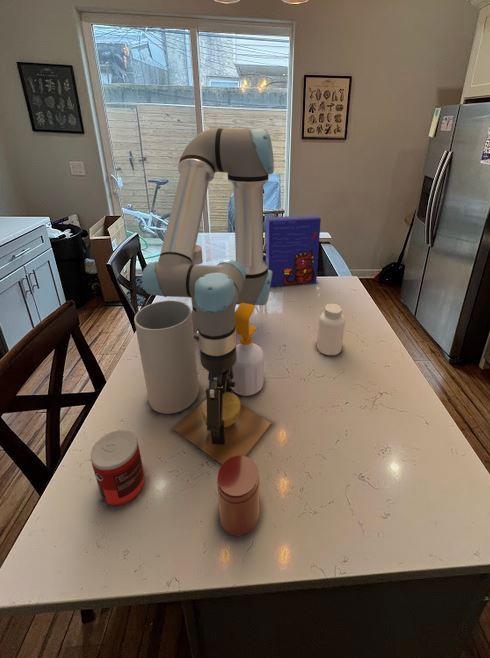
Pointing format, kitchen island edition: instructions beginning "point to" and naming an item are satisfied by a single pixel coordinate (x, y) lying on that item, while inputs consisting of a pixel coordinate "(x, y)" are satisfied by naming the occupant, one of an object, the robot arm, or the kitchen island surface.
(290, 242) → the cereal box
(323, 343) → the pill bottle
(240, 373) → the spray bottle
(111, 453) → the canned food
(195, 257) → the pillar candle
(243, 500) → the jam jar
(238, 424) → the wooden board
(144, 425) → the kitchen island surface
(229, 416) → the jar lid
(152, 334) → the cylinder vase
